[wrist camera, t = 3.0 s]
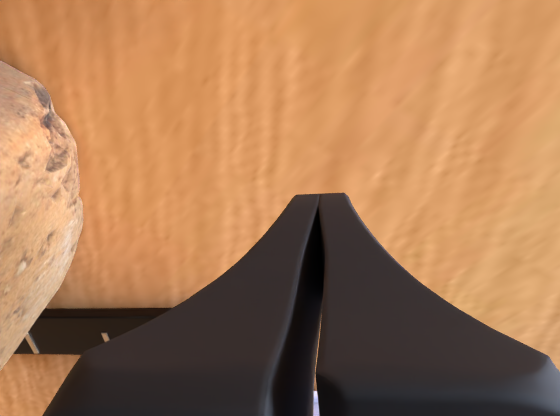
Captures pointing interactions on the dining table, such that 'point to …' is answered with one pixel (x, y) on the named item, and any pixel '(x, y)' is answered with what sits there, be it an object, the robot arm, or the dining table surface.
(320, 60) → the dining table surface
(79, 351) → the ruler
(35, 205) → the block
